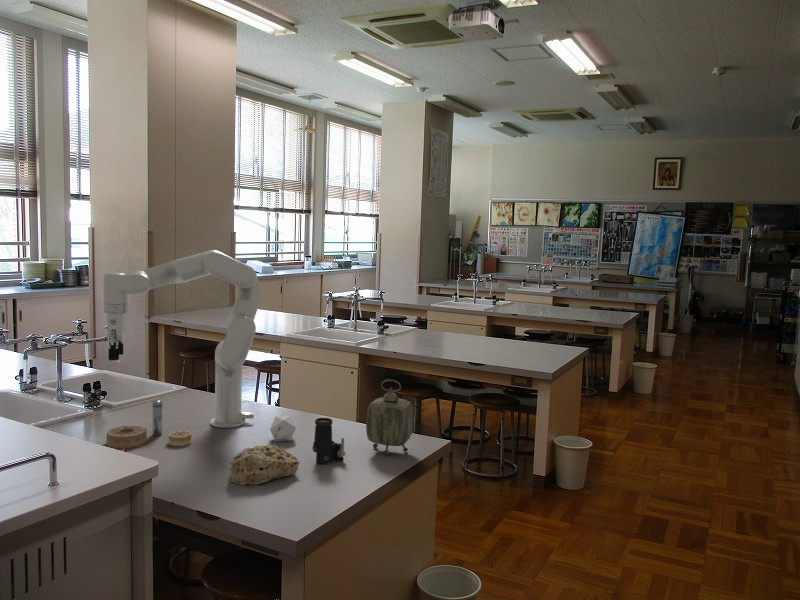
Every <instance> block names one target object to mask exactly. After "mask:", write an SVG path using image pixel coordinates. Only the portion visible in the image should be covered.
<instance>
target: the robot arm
mask: <svg viewBox="0 0 800 600" xmlns="http://www.w3.org/2000/svg"><path fill="white" fill-rule="evenodd" d="M211 275H212V276H214V277H216V278H218V279H219V280H222V281H224V282H227V283H229V284H231V285H233V286H235V287H236V289H237V295H236V298H235V301H234V305H233V307H232V310H231V312H230V314H229V317H228V319H227V322H226V329H227V330H226V331H227V332H226V333H225V337H224V339H223V340H221V341H220V342H219V343H218V344H217V346H216V347H215V349H214V350H215V351H214V363H215V364H214V367H215V371H214V372H215V375H214V376H215V377H214V379H215V380H214V381H215V384H214V386H215V387H214V391H215V392H214V417H213V418H212V419H210V425H211V426H212V427H214V428H220V429H230V428H231V429H232V428H233V429H234V428H237V427H241V426H243V425H245V423H246V419H250V420H251V419H255V417H254V416H255V415H254V412H253V413H252V412H250V411H249V412H245V411H243V409H242V396H243V395H242V387H243V386H242V385H243V365H244V363H246V359H247V358H248V355H249V352H250V349H251V346H252V343H253V342H254V339H255V338H254V337H255V335H256V329H257V328H256V327H257V326H256V323H255V317H256V315H257V312H258V308H259V305H260V302H261V298H262V288H261V283H260V280H259V278H258V275H257V272H256V270H255V269H254V268H253V267H252V266H250V265H248V264H246V263H244V262H241V261H239V260H237V259H235V258H233V257H231V256H229V255H227V254H225V253H223V252H221V251H219V250H216V249H211V250H207V251H202V252H200V253H196V254H192V255H188V256H185V257H181V258H178V259H174V260H171V261H168V262H165V263H163V264H159V265H155V266H151V267H148V268H145V269H142V270H141V269H140V270H137V271H134V272H133V273H127V274H126V273H124V272H106V273H105V274H104V275H103V314H107V315H106V316H107V317H106V333H107V334H106V337H107V341H108V361H119V360H120V356H121V355H124V341H125V340H126V338H127V327H126V326H127V322H126V321H127V320H126V314H128V312H129V311H128V307H129V306H128V305H129V304H128V300H129V299H128V297H129V296H128V294H129V295H137V296H139V295H140V296H141V295H145V294H146V293H148V292H149V291H150V290H153V289H155V288H159V287H162V286H166V285H174V284H178V285H179V284H183V283H184V284H185V283H187V282H190V281H195V280H197V279H201V278H205V277H208V276H211Z"/></svg>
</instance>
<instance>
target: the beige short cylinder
mask: <svg viewBox="0 0 800 600" xmlns="http://www.w3.org/2000/svg"><path fill="white" fill-rule="evenodd" d="M191 444H192V431H188V430H176V431H172V432H170V433H168V446H173V447H184V446H188V445H191Z"/></svg>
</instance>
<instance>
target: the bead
mask: <svg viewBox="0 0 800 600" xmlns="http://www.w3.org/2000/svg"><path fill="white" fill-rule="evenodd" d="M147 433H148V431H147V428H146V427H145V426H142V425H136V424H133V425H132V424H130V425H129V424H128V425H120V426H114V427H112V428H110V429H108V430H107V432H106V446H108V447H110V448H113V449H123V446H126V449H132V448H136V447H140V446H142V444H143V445H144V444H146V443H147V441H148V440H147V439H148V438H147V435H148V434H147ZM115 447H116V448H115Z"/></svg>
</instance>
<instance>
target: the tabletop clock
mask: <svg viewBox="0 0 800 600" xmlns="http://www.w3.org/2000/svg"><path fill="white" fill-rule="evenodd" d="M386 382H391V383H395V384H396V385H397V384H398V386H399V388H398V389H393V387H389V388H388V389H387V388H385V387H384V386H383V384H384V383H386ZM380 386H381V389H382V390H384V391H386V393H385V394H384V395H383V396H382V397H378V398H376V399H374V400H373V401H372V402H371V403H369V405H368V408H367V411H366V419H365V420H366V421H365V423H366V424H365V425H366V426H365V429H366V431H365V432H366V436H367V440H368V441H370V442H371V443H373V445H372V447H373V449H378V447H379V445H382V446H385V450H384V451H383V454H384V455H385V454H386V455H385V456H388V455H389V454H390V452H389V450H388V449H389V446H391V447H402V448H403V449H402V451H403V452H404V451H405V452H404V453H407V452H408V450H409V449H408V448H407V447H405V444H406V443H407V442H408V441H409V440H410V439H411V436H412V435H413V429H414V428H413V427H414V419H415V418H414V408H413V404H412V402H411V401H409V400H407V399H402V398H399V397H398V395H397V394H396V393H397V392H400V390H401V389H402V385H401V383H400V382H399V381H397V380H396V379H389V378H387V379H384V380H383V381H382V382H381V384H380ZM406 451H407V452H406ZM387 454H388V455H387Z"/></svg>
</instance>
